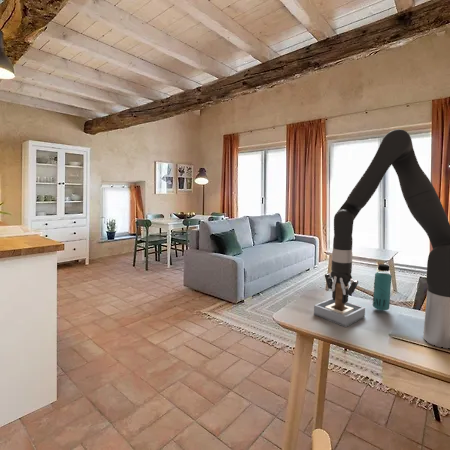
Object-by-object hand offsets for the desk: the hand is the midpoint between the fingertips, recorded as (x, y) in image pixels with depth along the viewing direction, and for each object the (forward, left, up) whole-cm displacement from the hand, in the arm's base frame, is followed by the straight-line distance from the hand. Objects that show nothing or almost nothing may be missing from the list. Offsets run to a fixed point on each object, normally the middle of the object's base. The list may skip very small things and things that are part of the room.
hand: (339, 301), depth 119 cm
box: (0, 0, -6) cm, 6 cm away
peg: (0, 0, -4) cm, 4 cm away
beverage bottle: (-8, -18, -6) cm, 21 cm away
